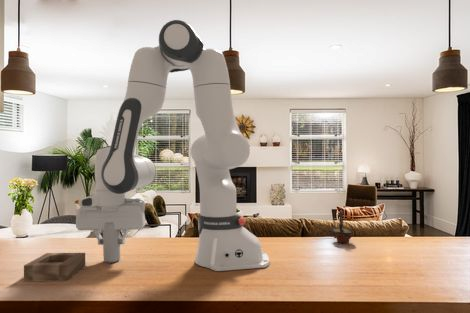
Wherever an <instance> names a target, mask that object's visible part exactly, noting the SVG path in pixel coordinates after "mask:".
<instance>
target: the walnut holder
mask: <svg viewBox="0 0 470 313" xmlns="http://www.w3.org/2000/svg"><path fill="white" fill-rule="evenodd" d="M85 267H86V252H46V253H44V254H43V255H41V256H38V257H37V258H35V259H33V260H31V261H30V262H28V263H26V264H24V265H23V282H55V281H56V282H59V281H67V282H68V281H69V280H70V279H71V278H72V277H74V276H75V275H77V274H78V273H79V272H81V270H83V269H84V268H85Z"/></svg>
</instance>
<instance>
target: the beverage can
mask: <svg viewBox="0 0 470 313" xmlns="http://www.w3.org/2000/svg"><path fill="white" fill-rule="evenodd" d="M113 223H114V222H112V223H105V225H104V230H102V238H103V245H102V246H103V247H102V248H103V249H102V250H103V252H102V254H103V261H104V262H105V263H107V264H109V263H116V262H118V261H120V259H121V244H119V238H120V237H121V232H120V231H121V230H115V228H114V224H113Z"/></svg>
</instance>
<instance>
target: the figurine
mask: <svg viewBox="0 0 470 313" xmlns="http://www.w3.org/2000/svg"><path fill="white" fill-rule="evenodd" d="M343 218H344V213H343V210H342V209H341V210H339V213H338V214H337V220H339V224H338V226H339V227H337V228H336V227H331V228H330V230H329V233H331V235H332V236H333V238H334V239H336V241H337V243H339V244H340V243H341V244H343V243H345V244H346V243H350V240H351V238H352V236H353V234H354V232H353V231H352V230H351V229H350V228H349V227H348V228H347V227H344V219H343Z"/></svg>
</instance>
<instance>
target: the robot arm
mask: <svg viewBox="0 0 470 313" xmlns="http://www.w3.org/2000/svg"><path fill="white" fill-rule="evenodd" d="M188 70H189V71H190V73H191V76H192V77H191V78H192V86H193V95H194V96H193V97H194V105H195V113H196V116H197V117H198V118H199V120H200V122H201V125H202V128H203V131H204V134H203V135H200V136H199V137H198V138H196V139H195V140H194V142H192V144H191V148H190V155H191V158H192V160H193V162H194V164H195V170H196V174H197V180H198V187H199V210H200V211H199V215H198V219H197V220H198V221H197V223H198V224H197V226H198V228H197V229H198V234H199V238H198V244H197V245H198V246H197V250H196V255H195V259H194V262H195V264H196V265H197V266H201V267H204V268H208V269H210V270H213V271H215V272H223V271H224V272H225V271H235V270H236V271H237V270H247V269H249V270H250V269H261V268H262V269H263V268H267V267H268V266H269V265H270V256H269V255H268V254H267V253H266V252H264V251H263V249H262V243H261V242H260V240H259V238H258V237H257V236H256V235H255V234H253V233H252V232H250V230H248V229H247V228H246V227H244V225H245V224H246V219H245V218H244V217H243V216H242V215H241V214H239V213H237V187H236V185H235V183H234V182H233V180H232V177H231V173H230V170H232V169H233V170H234V169H235V168H236V169H237V168H239V167H241V166H242V165H244V164H245V163H246V162H247V161H248V159H249V156H250V151H251V149H250V148H251V146H250V144H249V141H248V139H247V138H246V137H245V136H244V135H243V133H242V132H241V130H240V128H239V125H238V122H237V118H236V116H235V113H234V108H233V100H232V91H231V81H230V80H231V79H230V76H229V68H228V66H227V62H226V59H225V55H224V54H223V53H222V52H221V51H220V50H218V49H214V48H204V42H203V41H202V40H201V38H200V36H199V35H198V34H197V32H196V31H195V29H194V28H193V27H192V26H191V25H190V24H189V23H188V22H186V21H183V20H180V19H173V20H170V21H168V22H166V23H165V24H164V25H163V26H162V27H161V29H160V31H159V34H158V45H157V46H155V47H151V46H144V47H141V48H138V49H137V50H136V51H135V52H134V54H133V58H132V61H131V65H130V69H129V73H128V79H127V86H126V92H125V96H124V100H123V101H122V104H121V105H120V107H119V110H118V113H117V117H116V122H115V126H114V131H113V135H112V139H111V145H108V146H107V145H106V146H104V147H103V146H102V147H101V148H99V149H97V151H96V153H95V157H94V158H95V160H94V177H95V180H96V183H95V188H94V194H89V195H88V196H86V197H83V198H81V199H79V200H78V202H77V203H78V206H79V207H78V209H77V211H76V215H75V217H76V218H75V228H76V229H77V231H93V235H94V237H95V238H96V239H97V245H99V246H101V245H102V246H103V235H101V232H102V231H103V230H104V225H105V223H112V222H114V223H113V224H114V228H115V230H120V231H121V234H123V235H122V236H120V238H119V244H120V245H125V244H126V237H127V235H128V234H129V232H130V230H134V231H135V230H142V229H143V228H144V227H145V226H146V215H145V211H146V203H145V201H143V200H142V199H141V198H127V192H130V191H134V190H138V189H141V188H145V187H147V186H149V185H150V184H152V183H153V181H154V180H155V179H156V175H157V174H156V173H157V168H156V166H155V164H154V161H152V160H151V159H150V158H149V157H145V156H142V155H139V154H135V150H136V146H137V140H138V136H139V133H140V128H141V126H142V124H143V123H144V122H145V121H146V120H148V119H149V118H151V117H153V116H154V115H156V114H157V113H159V112H160V111H161V110H162V108H163V106H164V102H165V98H166V93H167V81H168V78H169V77H168V76H169V74H171V73H177V72H184V71H188Z"/></svg>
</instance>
